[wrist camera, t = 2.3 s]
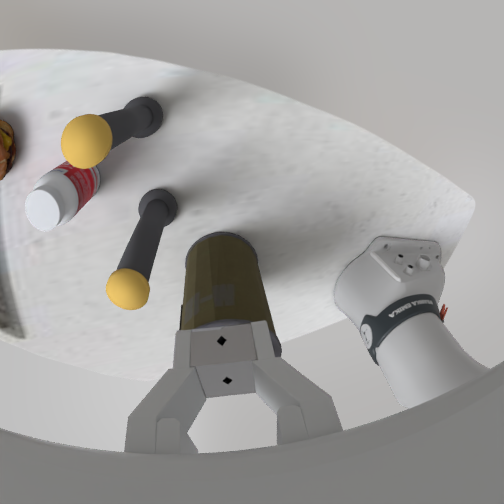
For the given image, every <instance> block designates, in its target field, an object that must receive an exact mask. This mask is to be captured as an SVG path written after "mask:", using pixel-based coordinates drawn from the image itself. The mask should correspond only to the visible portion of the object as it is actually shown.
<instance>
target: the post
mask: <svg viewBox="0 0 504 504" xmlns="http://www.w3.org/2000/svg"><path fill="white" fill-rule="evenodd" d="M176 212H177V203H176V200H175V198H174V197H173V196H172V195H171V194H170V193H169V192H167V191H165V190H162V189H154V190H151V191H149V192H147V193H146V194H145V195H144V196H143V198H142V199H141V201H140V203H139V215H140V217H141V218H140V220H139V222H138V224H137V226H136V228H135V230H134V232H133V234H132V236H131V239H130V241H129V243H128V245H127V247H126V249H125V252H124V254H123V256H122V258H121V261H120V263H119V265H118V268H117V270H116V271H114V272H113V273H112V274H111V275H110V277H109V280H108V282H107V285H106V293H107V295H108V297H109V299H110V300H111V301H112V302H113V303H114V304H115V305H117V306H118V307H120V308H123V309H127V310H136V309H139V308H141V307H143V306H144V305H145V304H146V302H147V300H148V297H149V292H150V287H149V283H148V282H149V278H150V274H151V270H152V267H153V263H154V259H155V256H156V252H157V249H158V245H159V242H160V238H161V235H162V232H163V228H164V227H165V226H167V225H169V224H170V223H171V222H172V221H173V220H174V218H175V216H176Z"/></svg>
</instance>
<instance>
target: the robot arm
mask: <svg viewBox="0 0 504 504" xmlns="http://www.w3.org/2000/svg"><path fill="white" fill-rule="evenodd" d="M385 245H386V246H385ZM440 262H441V249H440V246H439V244H438V243H437V242H432V241H422V240H411V239H400V238H389V237H378V238H376V239H375V240H374V241H373V242H372V243H371V244H370V246H369V247H368V248H367V250H366V251H365V252H364V253H363V254H362V255H361V256H359V257H358V258H356V259H355V260H354V261H353V262H351V263H350V264H349V265H348V266H347V267H346V269H345V270H344V271H343V272H342V274H341V275H340V277H339V279H338V281H337V283H336V286H335V290H334V300H335V304H336V306H337V307H338V309H339V310H340V311H342V312H343V313H344V314H345V315H346V316H347V317H348V318H349V319H350V320H351V321H352V322H353V323H354V325H355V326H356V327H357V329H358V330H359V332H360V334H361V337H362V339H363V342H364V344H365V346H366V348H367V349H368V351H369V353H370V355H371V357H372V359H373V360H374V362H375V363H376V364H377V365H378V366H380V368H381V370H382V372H383V374H384V375H385V378H386V380H387V382H388V384H389V386H390V388H391V390H392V392H393V394H394V396H395V398H396V400H397V402H398V403H399V404H400V405H401V406H403V407H405V408H409V409H407V410H405V411H402V412H399V413H397V414H394V415H391V416H389V417H386V418H383V419H380V420H377V421H374V422H371V423H368V424H365V425H362V426H358V427H355V428H352V429H348V430H344V431H343V429H342V426H341V423H340V420H339V418H338V415H337V412H336V409H335V406H334V403H333V400H332V397H331V396H330V395H329V394H327V393H326V392H325V391H323V390H322V389H321V388H319V387H318V386H317V385H315V384H314V383H313V382H312V381H310V380H309V379H307V378H306V377H305V376H304V375H302V374H301V373H300V372H299V371H297V370H296V369H295V368H293V367H292V366H291V365H290V364H288V363H287V362H286V361H285V360H283V359H282V358H281V357H275V354H274V350H273V346H272V342H271V337H270V333H269V329H268V325H267V322H266V321H265V320H264V321H258V322H251V323H244V324H237V325H229V326H222V327H213V328H201V329H192V330H178V331H177V332H176V336H175V348H174V361H173V369H168V370H167V372H166V373H165V374H164V375H163V376H162V378H161V379H160V380H159V381H158V382H157V384H156V385H155V386H154V387H153V388H152V389H151V391H150V392H149V393H148V394H147V395H146V397H145V398H144V399H143V400H142V401H141V403H140V404H139V405H138V406H137V407H136V408H135V410H134V411H133V412H132V413H131V414H130V416H129V417H128V424H127V433H126V441H125V451H124V452H115V451H106V450H97V449H89V448H82V447H76V446H70V445H65V444H60V443H55V442H49V441H45V440H41V439H37V438H33V437H29V436H25V435H21V434H18V433H14V432H11V431H8V430H5V429H1V428H0V504H504V361H503V362H501V363H500V364H498V365H496V366H495V367H493V368H491V369H490V368H487V367H485V366H484V365H482V364H480V363H478V362H477V361H476V360H474V359H473V358H472V357H471V356H469V354H467V353H466V352H465V351H464V349H463V348H462V347H461V346H460V345H459V343H458V342H457V341H456V339H455V338H454V337H453V336H452V334H451V333H450V332H449V331H448V329H447V328H446V327H445V325H444V324H443V322H444V320H443V319H444V316H445V314H446V312H447V309H448V308H446V310H445V304H443V306H442V309H441V311H440V313H439V309H438V306H437V305H438V302H439V300H440V297H441V294H442V291H443V287H444V283H445V273H444V270H443V268H442V266H441V265H440ZM444 310H445V311H444ZM247 393H256V394H257V395H258V396H259V397H260V398H261V399H262V400H263V401H264V402H265V403H266V405H267V406H269V408H270V409H271V410H273V412H274V413H275V414H276V415H277V445H276V446H270V447H263V448H256V449H248V450H240V451H229V452H218V453H200V454H198V449H197V448H196V446H195V445H194V443H193V442H192V440H191V439H190V437H189V436H188V434H187V432H188V430H189V428H190V427H191V425H192V423H193V422H194V420H195V418H196V417H197V415H198V413H199V411H200V410H201V408H202V406H203V405H204V403H205V401H206V398H211V397H219V396H228V395H237V394H247Z"/></svg>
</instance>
